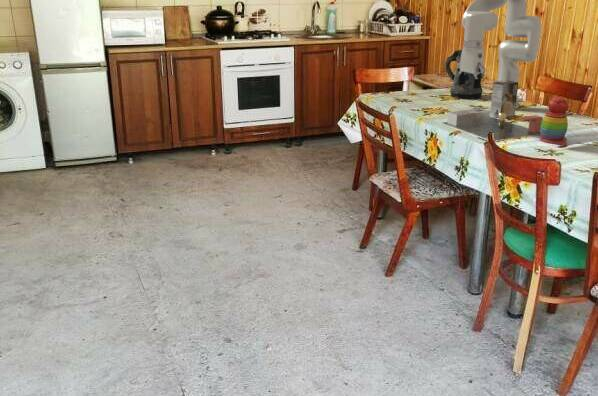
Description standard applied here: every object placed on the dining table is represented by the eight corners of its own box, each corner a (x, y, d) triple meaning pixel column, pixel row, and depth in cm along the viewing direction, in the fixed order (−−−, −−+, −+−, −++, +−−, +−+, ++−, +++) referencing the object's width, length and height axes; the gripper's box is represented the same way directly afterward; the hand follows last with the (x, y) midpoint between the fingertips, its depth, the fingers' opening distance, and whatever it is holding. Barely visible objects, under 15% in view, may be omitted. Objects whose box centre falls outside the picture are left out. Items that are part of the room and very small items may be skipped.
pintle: (501, 125, 245) (503, 112, 243) (505, 126, 243) (507, 113, 241) (496, 125, 244) (498, 112, 242) (501, 127, 242) (502, 114, 240)
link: (479, 119, 255) (480, 108, 253) (489, 122, 250) (490, 111, 248) (446, 123, 249) (447, 112, 247) (456, 126, 243) (457, 115, 241)
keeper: (533, 130, 237) (535, 115, 235) (540, 132, 234) (542, 116, 232) (514, 132, 233) (516, 117, 231) (520, 134, 230) (522, 119, 228)
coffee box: (504, 115, 266) (508, 79, 261) (514, 117, 261) (519, 82, 255) (489, 117, 262) (493, 81, 257) (499, 120, 257) (503, 84, 251)
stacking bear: (566, 148, 216) (574, 100, 209) (537, 145, 220) (544, 98, 213) (567, 141, 225) (574, 95, 219) (539, 138, 229) (545, 93, 222)
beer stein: (485, 99, 299) (491, 49, 290) (448, 99, 299) (452, 50, 290) (477, 93, 314) (481, 45, 305) (441, 93, 315) (444, 46, 305)
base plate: (489, 118, 260) (489, 116, 260) (543, 135, 233) (543, 132, 233) (441, 124, 250) (441, 122, 250) (492, 143, 223) (492, 140, 223)
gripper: (494, 46, 231) (490, 89, 237) (466, 42, 246) (463, 82, 252) (479, 47, 228) (475, 90, 234) (452, 43, 243) (448, 83, 249)
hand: (468, 86), depth 243 cm, fingers open, 9 cm apart
